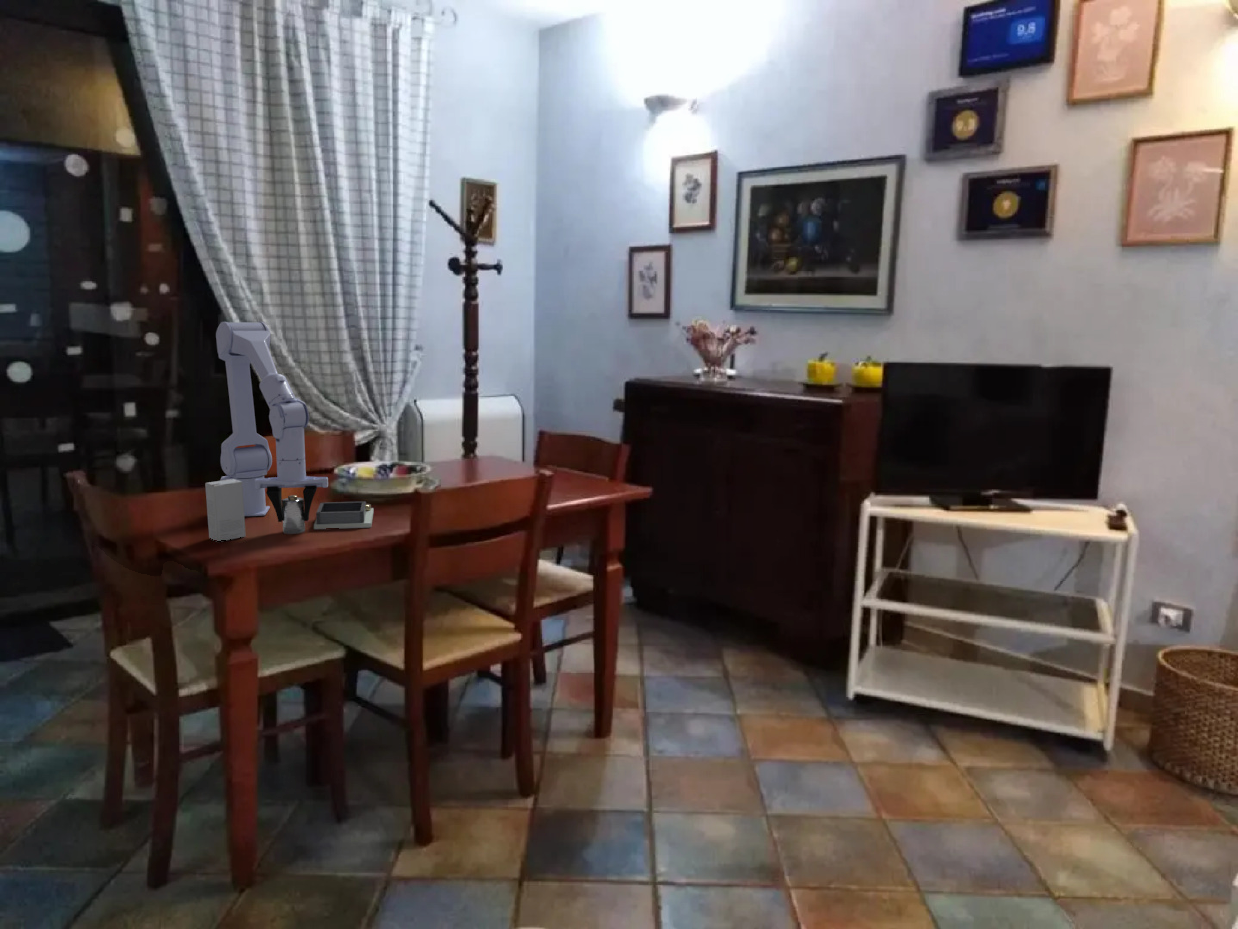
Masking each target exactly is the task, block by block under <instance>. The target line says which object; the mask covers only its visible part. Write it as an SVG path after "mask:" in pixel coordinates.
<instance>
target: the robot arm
mask: <svg viewBox="0 0 1238 929" xmlns="http://www.w3.org/2000/svg"><path fill="white" fill-rule="evenodd" d="M215 338H216V350H217V354H218V359H220V360H222V361H224V362H225V371H226V378H227V379H226V380H227V388H228V390H227V391H228V396H229V407H230V417H231V426H232V433H231V434H230V435H229V437H227V438H226V439H225V440H224V441H223V442H222V443H221V444H220V445H221V446H220V449H221V450H220V451H221V453H220V460H219V461H220V467H221V470H222V471H223V473H224V474H225V476H222V475H221V478H220V480H219V481H222V480H229V479H235V480H239V481H242V489H243V502H244V517H260V516H261V517H262V516H263V517H264V516H266V514H268V511H269V510H270V507H271V506H270V505H266V495H267V497H268V499H269V501H270V503H272V506H273V508H274V511H275V514H276V517H277V521H278V523H283V515H282V500H283V498H282V495H283V493H282V490H283V489H285V488H286V489H287V488H289V489H291V488H295V489H296V488H303V490H302V495H303V499H304V521H305V522H308V521H309V520H310V512H311V510H310V509H311V506H312V503H313V499H314V498H315V494H316V492H317V490H318V488H324V489H325V488H328V487H329V478H328V476H310V475H309V476H308V475H307V473H306V472H307V471H306V469H307V468H306V449H305V448H306V447H305V446H306V445H305V444H306V443H305V428H307V427H308V425H309V422H310V414H309V409H308V406H307V404H306V402H305V401H303V400H301V399H300V398H299V397H296V396H295V393H294V391H293V389H292V387H291V386H290V384H289V381H288V379H287V377H286V376H285V375H284V374H280V373H278V370H277V367H276V365H275V361H274V359H273V357H272V354H271V351H270V345H271V331H270V328H269V326H268V325H267V323H265V322H263V321H258V322H256V321H255V322H251V321H250V322H247V321H246V322H245V321H242V322H239V321H238V322H235V321H234V322H233V321H232V322H230V321H229V322H228V321H221V322H220V323H219V325H218V327H217V328H216V331H215ZM251 364H252V366H253V369H254V370H255V371H256V373H257V375H258V376H259V378H260V379H261V381H260V383H259V385H258V386H259V390H260V391H261V394H262V397H263V398H264V400H265V402H266V404H267V406H268V408H269V415H268V419H269V423H270V426H271V430H272V436H273V438H275V452H276V454H275V455H276V473H277V474H276V476H277V477H276V476H275V477H274V476H273V477H265V476H267V474H268V471H270V469H271V467H272V464H273V457H272V453H271V452H272V451H271V449H270V446H269V442H268V440H267V439H266V438H265V437H263V436H262V435H260V434H259V433H257V425H256V424H257V423H256V416H255V415H256V414H255V405H254V396H253V384H252V378H251V377H252V376H251V368H250V367H251V366H250V365H251Z"/></svg>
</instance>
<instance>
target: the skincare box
mask: <svg viewBox="0 0 1238 929" xmlns="http://www.w3.org/2000/svg"><path fill="white" fill-rule="evenodd" d="M204 486H205V496H206V497H205V498H206V499H205V500H206V511H207V512H206V513H207V514H206V515H207V525H208V538H209V539H210V538H211V539H210V540H212V539H213V540H212V541H214V540H217V541H221V540H226V541H230V539H231V540H235V539H239V538H240V537H241V538H245V537H246V534H247V533H246V524H245V523H246V522H245V519H246V518H245V516H244V502H243V489H242V481H239V480H235V479H229V480H222V481H220V480H217V481H211V482H210V481H209V482H205V485H204ZM217 541H216V542H217ZM221 542H222V541H221Z"/></svg>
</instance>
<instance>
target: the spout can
mask: <svg viewBox="0 0 1238 929" xmlns="http://www.w3.org/2000/svg"><path fill="white" fill-rule="evenodd" d="M282 515H283V520H282V532H283V533H284V534H285V535H298V534H302V533H304V532H305V531H306V524H305V522H306V521H304V497H298V495H295V494H291V495H288V497H286V498H282Z"/></svg>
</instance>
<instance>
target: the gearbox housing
mask: <svg viewBox="0 0 1238 929" xmlns="http://www.w3.org/2000/svg"><path fill="white" fill-rule="evenodd" d="M315 515H316V518H315V522H314V523H313V530H327V529H326V528H339V529H358V528H359V529H360V528H363V529H364V528H372V524H373V518H374V507H372V504H370V503H367V501H341V502H340V501H335V502H333V501H332V502H330V501H329V502H328V501H327V502H320V503H319V505H318V508H317V510H316V512H315Z"/></svg>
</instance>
